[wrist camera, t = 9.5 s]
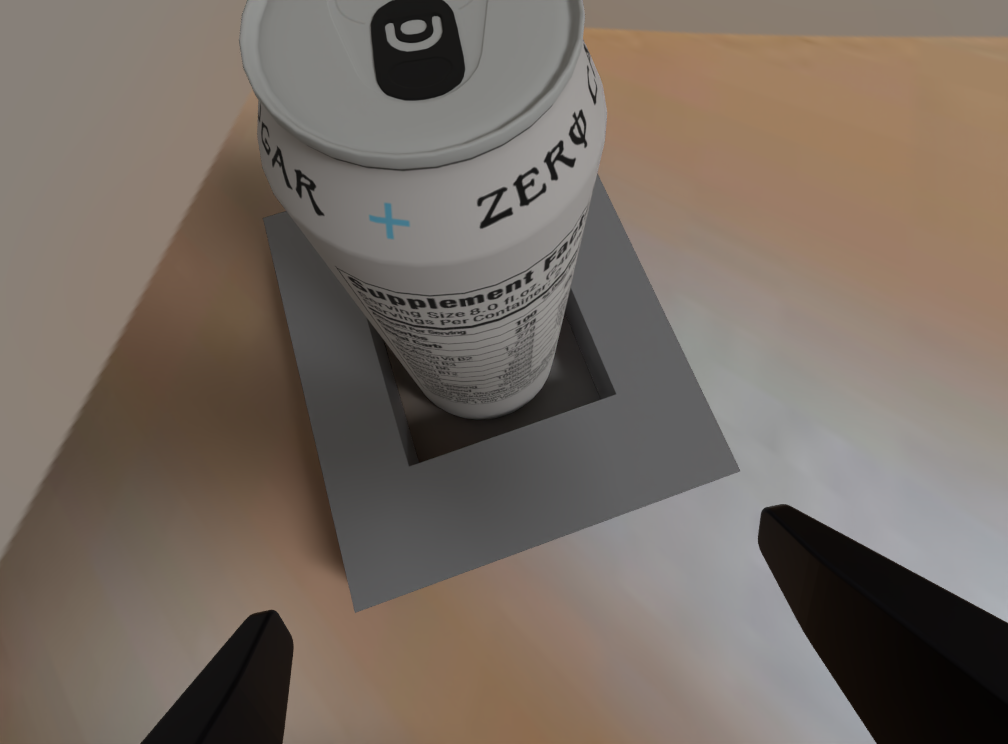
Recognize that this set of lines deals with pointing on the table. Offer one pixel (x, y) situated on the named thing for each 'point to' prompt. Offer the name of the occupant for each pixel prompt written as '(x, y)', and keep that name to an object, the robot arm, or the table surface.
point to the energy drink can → (437, 172)
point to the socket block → (507, 457)
